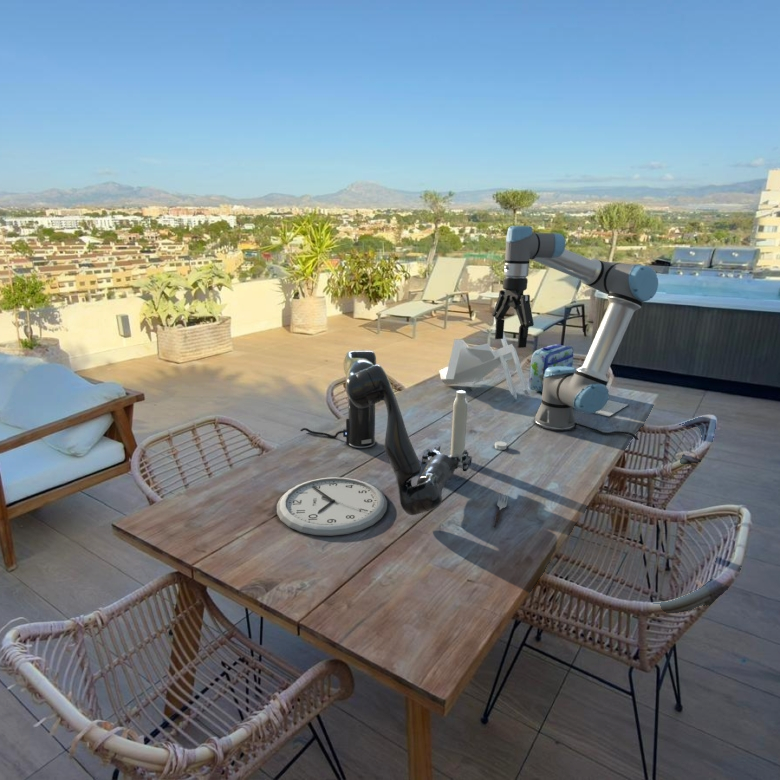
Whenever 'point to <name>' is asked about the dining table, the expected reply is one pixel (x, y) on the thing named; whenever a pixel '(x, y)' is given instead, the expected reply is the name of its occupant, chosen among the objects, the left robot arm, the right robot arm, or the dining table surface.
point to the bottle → (459, 424)
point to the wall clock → (331, 506)
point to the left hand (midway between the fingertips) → (452, 450)
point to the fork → (500, 505)
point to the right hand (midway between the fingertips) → (509, 343)
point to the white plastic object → (481, 364)
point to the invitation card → (611, 408)
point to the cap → (500, 445)
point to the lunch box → (548, 363)
